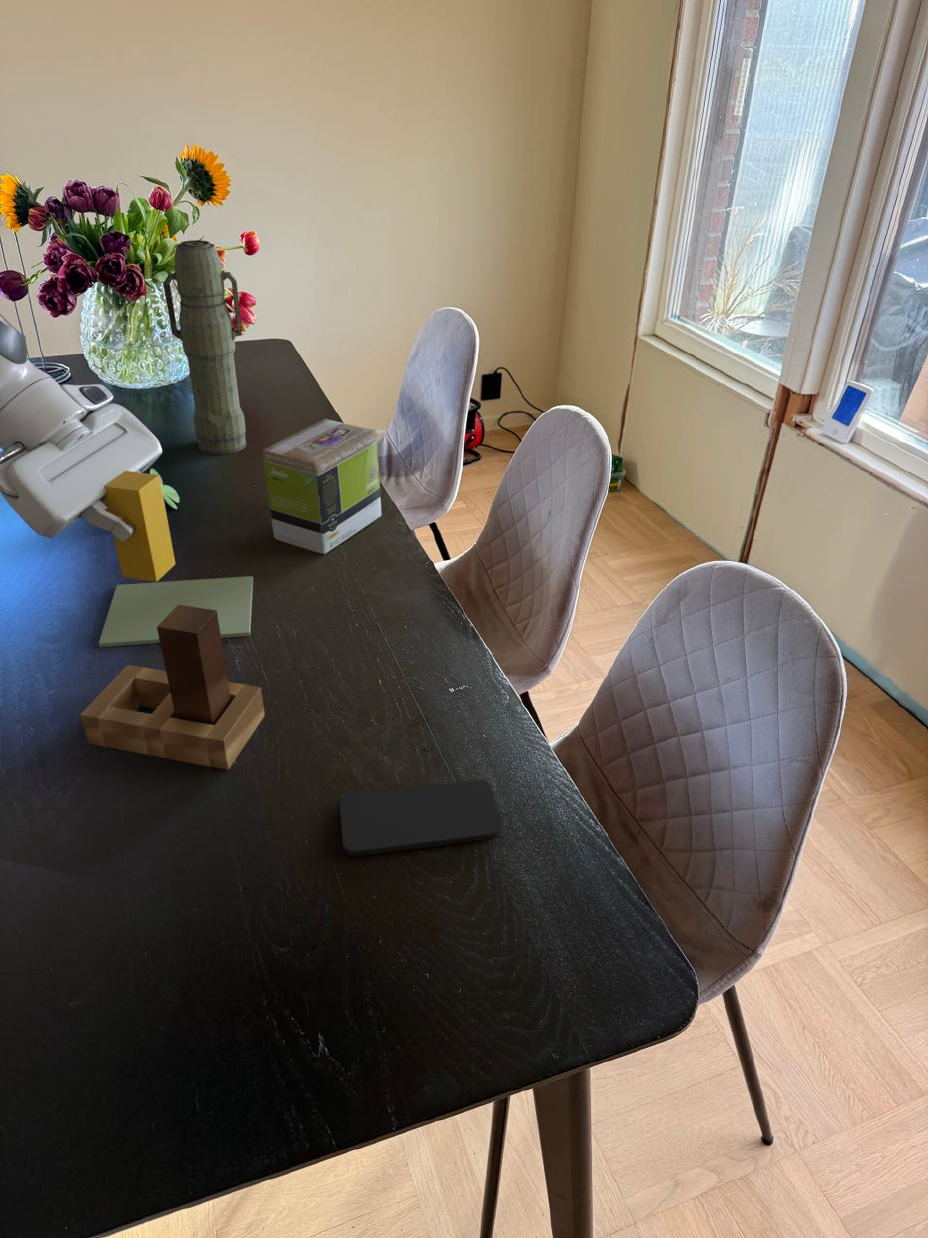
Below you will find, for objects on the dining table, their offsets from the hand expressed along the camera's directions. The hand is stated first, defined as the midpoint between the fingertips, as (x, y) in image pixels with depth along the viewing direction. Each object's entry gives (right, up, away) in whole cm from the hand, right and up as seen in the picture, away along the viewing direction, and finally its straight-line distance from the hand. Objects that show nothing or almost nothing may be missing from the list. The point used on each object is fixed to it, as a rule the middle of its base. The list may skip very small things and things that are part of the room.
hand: (145, 523), depth 93 cm
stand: (+4, -22, -1) cm, 23 cm away
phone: (+30, -30, -11) cm, 44 cm away
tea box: (+14, +3, +39) cm, 42 cm away
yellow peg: (-1, -5, +3) cm, 6 cm away
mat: (-2, -9, +19) cm, 21 cm away
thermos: (-10, +22, +66) cm, 70 cm away
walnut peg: (+7, -23, -1) cm, 24 cm away
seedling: (-14, +8, +45) cm, 48 cm away
